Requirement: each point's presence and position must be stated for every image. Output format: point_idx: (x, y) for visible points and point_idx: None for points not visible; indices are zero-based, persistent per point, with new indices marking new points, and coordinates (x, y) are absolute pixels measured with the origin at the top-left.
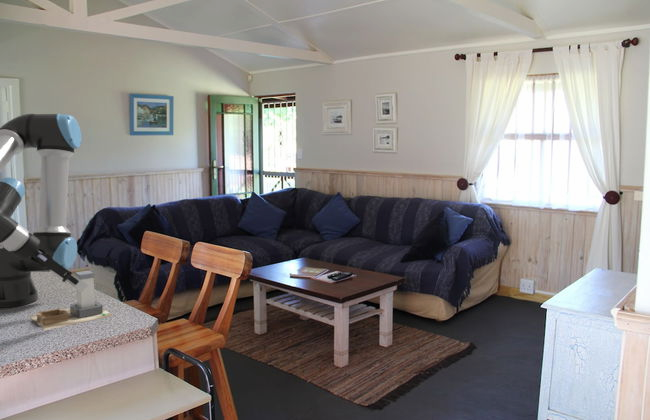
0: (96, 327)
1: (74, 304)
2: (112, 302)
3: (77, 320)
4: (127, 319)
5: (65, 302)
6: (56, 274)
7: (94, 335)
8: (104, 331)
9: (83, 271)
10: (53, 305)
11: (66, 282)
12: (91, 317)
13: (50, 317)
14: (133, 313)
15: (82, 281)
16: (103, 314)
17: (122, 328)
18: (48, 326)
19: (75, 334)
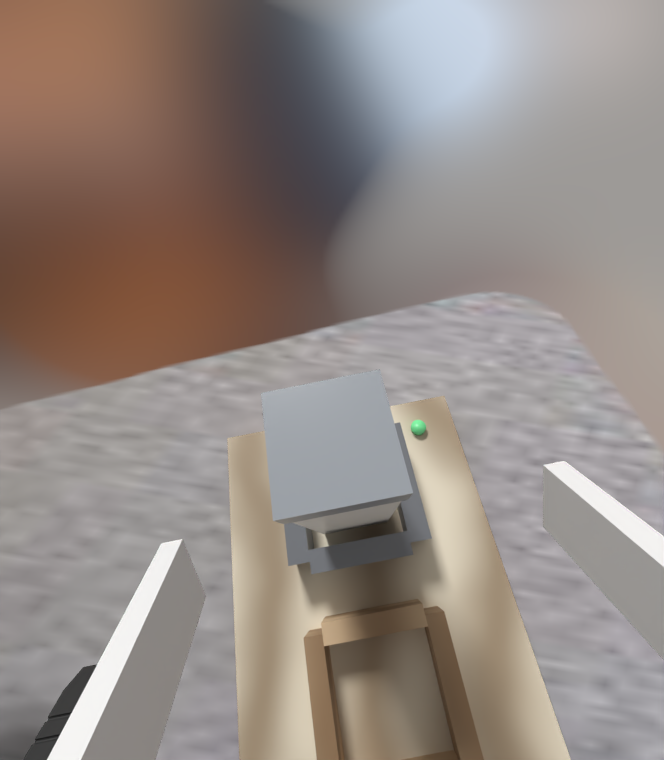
0: (517, 483)
1: (302, 545)
2: (206, 373)
3: (454, 557)
4: (454, 360)
5: (64, 553)
6: (154, 733)
7: (633, 510)
8: (585, 461)
9: (277, 439)
10: (66, 621)
11: (204, 593)
12: (433, 485)
13: (475, 736)
14: (389, 331)
15: (613, 501)
16: (424, 431)
17: (564, 393)
18: (510, 743)
19: (597, 592)
